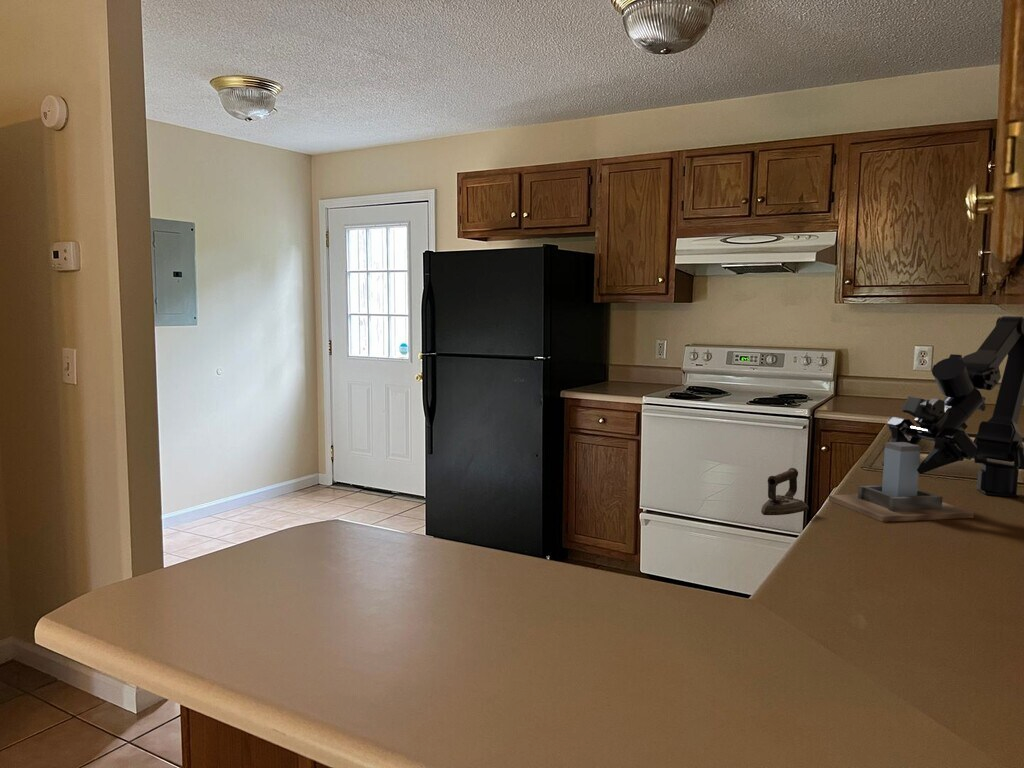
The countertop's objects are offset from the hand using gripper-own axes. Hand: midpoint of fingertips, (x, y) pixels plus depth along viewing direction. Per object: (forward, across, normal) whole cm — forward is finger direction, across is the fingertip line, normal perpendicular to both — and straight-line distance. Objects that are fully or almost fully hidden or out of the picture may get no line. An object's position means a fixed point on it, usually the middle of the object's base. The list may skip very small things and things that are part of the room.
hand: (901, 466), depth 146 cm
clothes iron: (+24, -2, -12) cm, 27 cm away
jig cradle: (+6, 0, +6) cm, 8 cm away
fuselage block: (+5, 0, +5) cm, 7 cm away
